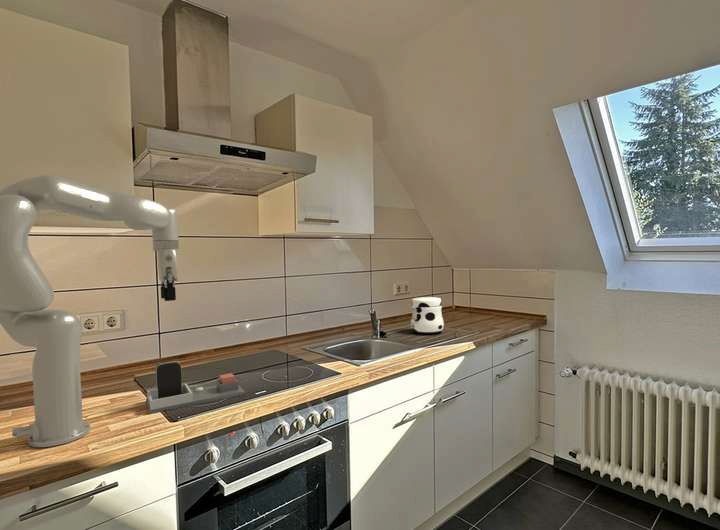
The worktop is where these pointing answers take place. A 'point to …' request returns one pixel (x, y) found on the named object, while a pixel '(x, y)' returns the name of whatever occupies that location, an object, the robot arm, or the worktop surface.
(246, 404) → the worktop surface
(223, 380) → the red cube
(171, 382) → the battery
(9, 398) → the worktop surface
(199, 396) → the charging dock
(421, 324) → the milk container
